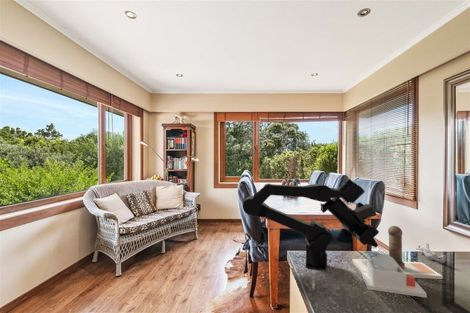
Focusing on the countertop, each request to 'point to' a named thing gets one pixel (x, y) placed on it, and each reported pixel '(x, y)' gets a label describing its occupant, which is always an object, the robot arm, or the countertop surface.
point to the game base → (391, 281)
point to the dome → (385, 263)
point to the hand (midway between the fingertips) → (376, 246)
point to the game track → (406, 269)
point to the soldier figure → (432, 254)
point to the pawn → (396, 245)
